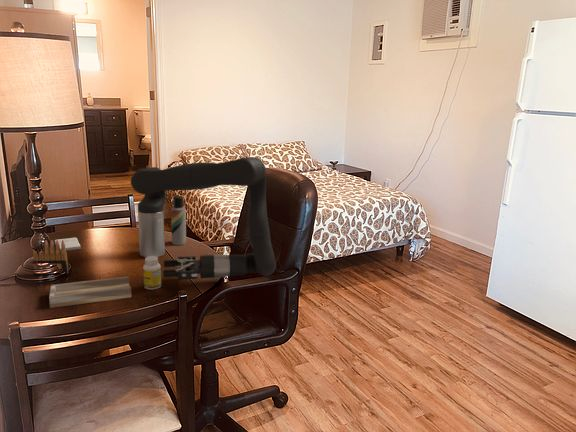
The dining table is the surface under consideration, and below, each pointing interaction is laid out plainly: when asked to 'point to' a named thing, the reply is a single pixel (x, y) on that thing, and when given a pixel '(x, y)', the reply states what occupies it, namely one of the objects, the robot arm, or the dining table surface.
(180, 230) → the lotion bottle
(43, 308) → the dining table surface
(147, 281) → the supplement bottle
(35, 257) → the ammunition clip
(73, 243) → the external hard drive
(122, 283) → the track
